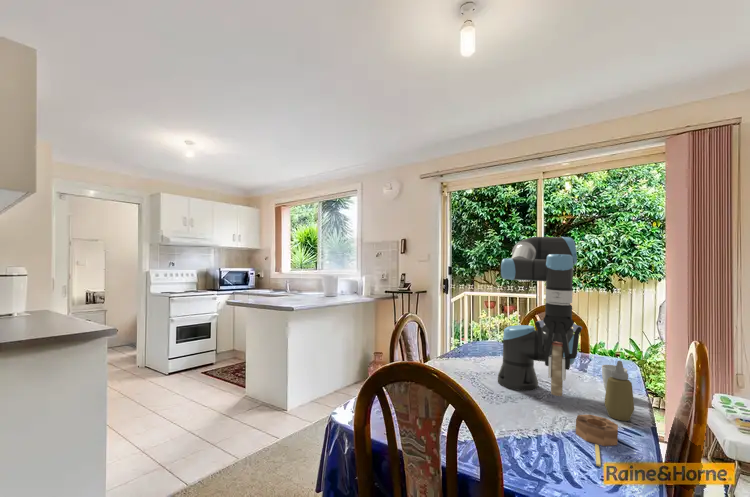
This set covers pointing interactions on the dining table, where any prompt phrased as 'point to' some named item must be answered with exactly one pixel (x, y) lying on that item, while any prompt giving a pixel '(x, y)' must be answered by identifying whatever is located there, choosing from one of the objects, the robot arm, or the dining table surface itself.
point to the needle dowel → (557, 369)
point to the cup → (608, 373)
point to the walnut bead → (597, 430)
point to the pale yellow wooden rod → (597, 455)
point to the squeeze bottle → (619, 394)
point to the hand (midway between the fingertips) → (557, 377)
